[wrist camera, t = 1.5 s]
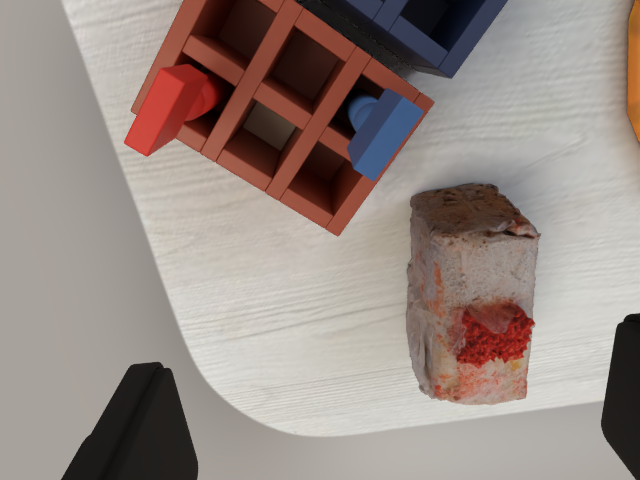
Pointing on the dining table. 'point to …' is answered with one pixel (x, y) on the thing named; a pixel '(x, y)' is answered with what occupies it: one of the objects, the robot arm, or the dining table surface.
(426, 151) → the dining table surface
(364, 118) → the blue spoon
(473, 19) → the blue caddy
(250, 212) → the dining table surface
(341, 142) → the red caddy
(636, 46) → the pizza
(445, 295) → the food item
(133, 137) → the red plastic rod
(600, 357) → the dining table surface
